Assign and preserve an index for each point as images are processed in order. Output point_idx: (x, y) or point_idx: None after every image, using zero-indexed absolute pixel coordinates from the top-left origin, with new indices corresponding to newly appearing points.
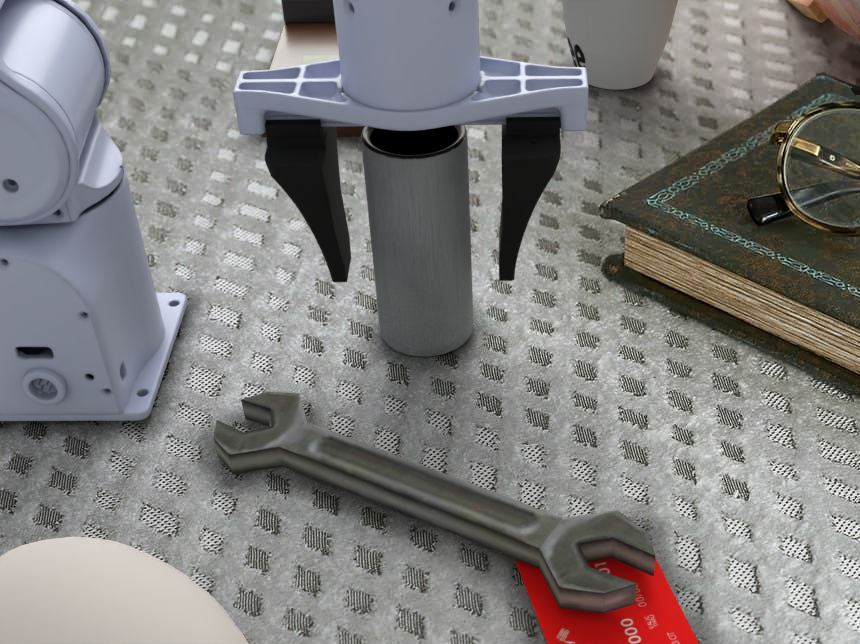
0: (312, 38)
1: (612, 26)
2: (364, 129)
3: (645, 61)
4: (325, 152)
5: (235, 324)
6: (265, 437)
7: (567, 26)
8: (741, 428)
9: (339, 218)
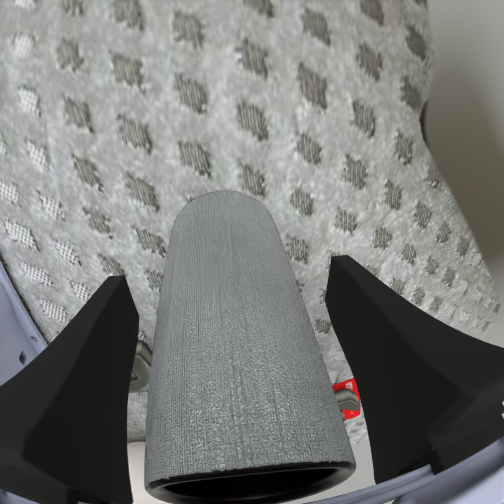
0: None
1: None
2: (152, 496)
3: None
4: (115, 493)
5: (34, 245)
6: (138, 385)
7: None
8: (437, 311)
9: (114, 359)
